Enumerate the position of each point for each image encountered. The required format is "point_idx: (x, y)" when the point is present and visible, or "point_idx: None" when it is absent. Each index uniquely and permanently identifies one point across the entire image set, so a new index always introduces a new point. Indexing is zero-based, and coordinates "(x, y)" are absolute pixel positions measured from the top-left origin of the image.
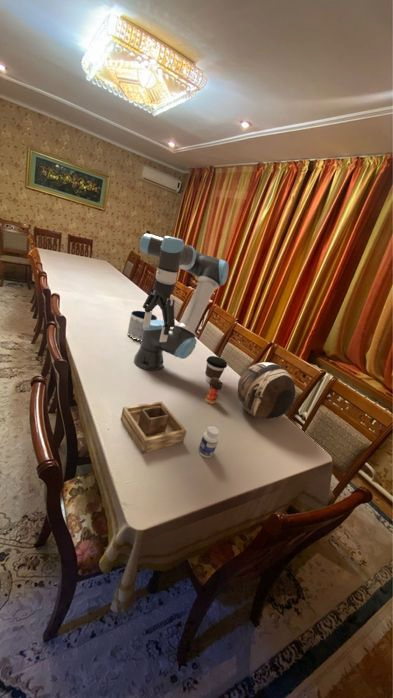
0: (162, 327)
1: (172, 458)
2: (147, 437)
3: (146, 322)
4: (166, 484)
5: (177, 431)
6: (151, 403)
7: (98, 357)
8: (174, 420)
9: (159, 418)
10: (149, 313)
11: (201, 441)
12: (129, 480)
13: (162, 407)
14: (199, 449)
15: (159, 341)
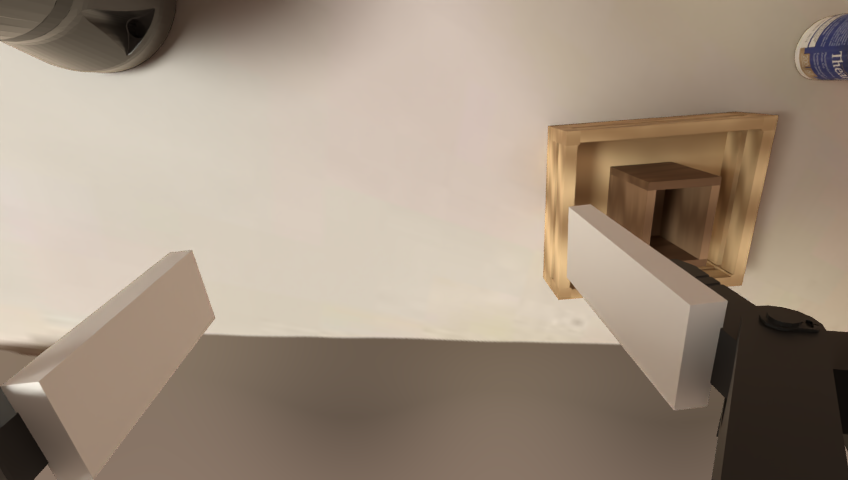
0: (654, 384)
1: (772, 186)
2: None
3: (176, 332)
4: (832, 244)
5: (762, 156)
6: (567, 185)
7: (78, 245)
8: (697, 132)
9: (710, 222)
10: (76, 415)
11: (844, 76)
12: None
13: (661, 182)
14: (817, 79)
15: (569, 277)
